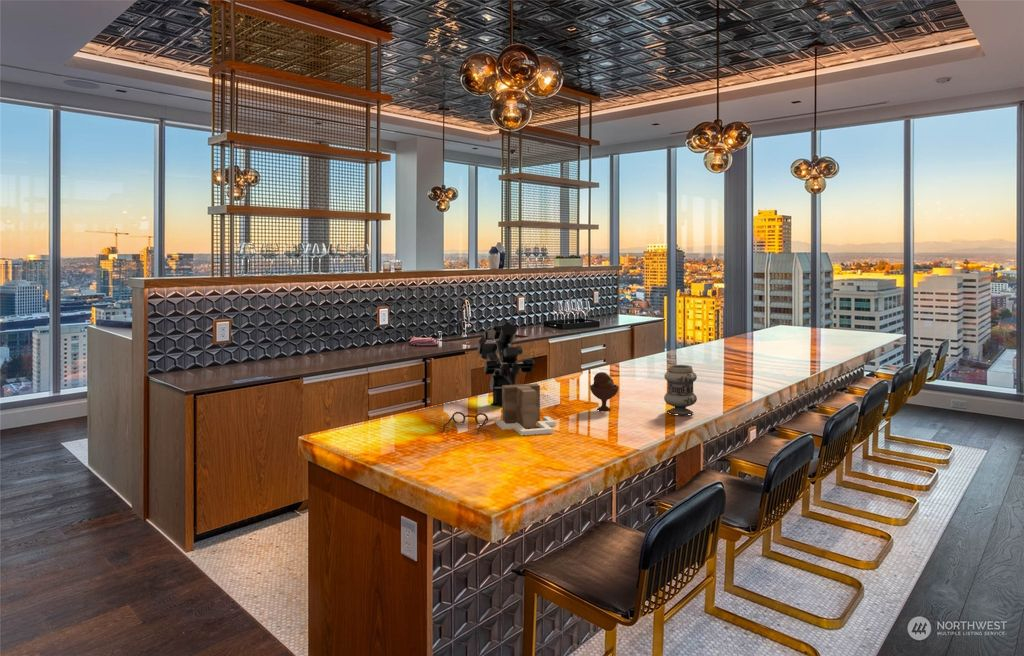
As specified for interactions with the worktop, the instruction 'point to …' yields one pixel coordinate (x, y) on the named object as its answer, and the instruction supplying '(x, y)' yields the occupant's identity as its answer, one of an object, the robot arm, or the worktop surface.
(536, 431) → the t outline
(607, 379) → the ice cream bowl
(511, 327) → the robot arm
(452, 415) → the glasses
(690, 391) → the apothecary jar
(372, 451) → the worktop surface
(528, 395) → the t block
